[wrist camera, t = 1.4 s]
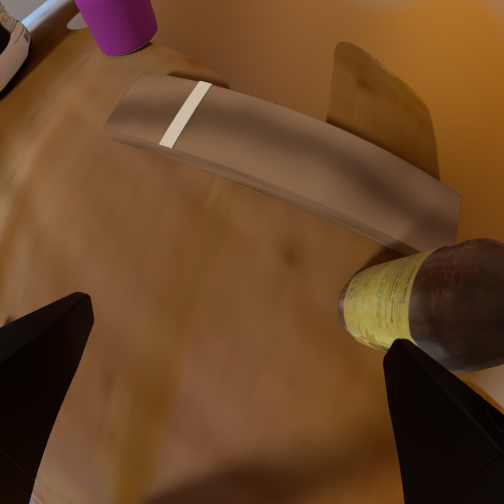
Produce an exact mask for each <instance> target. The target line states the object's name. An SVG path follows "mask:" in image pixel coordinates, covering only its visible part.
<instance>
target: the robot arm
mask: <svg viewBox="0 0 504 504" xmlns="http://www.w3.org/2000/svg"><path fill="white" fill-rule="evenodd" d="M93 323H94V314H93V309H92V303H91V298H90V296H89V295H88V294H86V293H82V292H75V293H72V294H70V295H68V296H66V297H64V298H61V299H59V300H57V301H55V302H53V303H51V304H49V305H46V306H44V307H42V308H40V309H38V310H36V311H34V312H32V313H30V314H27V315H25V316H23V317H21V318H19V319H17V320H15V321H13V322H11V323H9V324H7V325H5V326H3V327H1V328H0V504H29V502H30V498H31V494H32V490H33V487H34V483H35V479H36V476H37V472H38V469H39V466H40V463H41V459H42V456H43V453H44V450H45V447H46V445H47V442H48V439H49V436H50V433H51V431H52V428H53V425H54V423H55V420H56V418H57V415H58V413H59V410H60V408H61V405H62V403H63V400H64V398H65V396H66V393H67V391H68V389H69V386H70V384H71V382H72V379H73V377H74V375H75V373H76V370H77V368H78V366H79V363H80V360H81V357H82V354H83V351H84V349H85V346H86V343H87V340H88V337H89V335H90V332H91V329H92V327H93ZM383 368H384V375H385V383H386V390H387V399H388V406H389V411H390V416H391V421H392V425H393V430H394V436H395V441H396V447H397V452H398V458H399V465H400V471H401V478H402V486H403V494H404V502H405V504H504V414H502V413H501V412H500V411H499V410H497V409H496V408H495V407H493V406H492V405H491V404H490V403H489V402H487V401H486V400H484V399H483V398H482V397H481V396H480V395H479V394H477V393H476V392H475V391H474V390H472V389H471V388H470V387H469V386H467V385H466V384H465V383H464V382H462V381H461V380H460V379H459V378H457V377H456V376H455V375H454V374H452V373H451V372H450V371H449V370H447V369H446V368H445V367H443V366H442V365H441V364H440V363H438V362H437V361H436V360H435V359H433V358H432V357H431V356H429V355H428V354H427V353H426V352H424V351H423V350H422V349H420V348H419V347H418V346H416V345H415V344H414V343H413V342H411V341H410V340H409V339H406V338H397V339H395V340H394V341H393V343H392V345H391V346H390V348H389V350H388V351H387V353H386V355H385V357H384V359H383Z"/></svg>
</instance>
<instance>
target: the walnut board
mask: <svg viewBox="0 0 504 504" xmlns="http://www.w3.org/2000/svg"><path fill="white" fill-rule="evenodd" d="M103 129H104V130H105V131H106V132H107V134H108V135H109V136H110V137H111V138H112V140H113V141H117V142H120V143H123V144H127V145H130V146H133V147H136V148H139V149H143V150H146V151H149V152H152V153H155V154H158V155H161V156H164V157H167V158H170V159H173V160H176V161H179V162H182V163H185V164H188V165H191V166H193V167H196V168H199V169H202V170H205V171H208V172H210V173H213V174H216V175H218V176H221V177H224V178H227V179H229V180H232V181H235V182H237V183H240V184H242V185H245V186H248V187H250V188H253V189H255V190H258V191H260V192H263V193H266V194H268V195H271V196H273V197H276V198H278V199H280V200H283V201H285V202H288V203H290V204H293V205H295V206H297V207H300V208H302V209H304V210H307V211H309V212H312V213H314V214H316V215H319V216H321V217H323V218H325V219H328V220H330V221H332V222H334V223H337V224H339V225H341V226H343V227H346V228H348V229H350V230H352V231H354V232H357V233H359V234H361V235H363V236H365V237H367V238H370V239H372V240H374V241H376V242H378V243H380V244H382V245H384V246H386V247H388V248H390V249H393V250H395V251H397V252H399V253H401V254H403V255H405V256H407V257H408V256H411V255H415V254H418V253H422V252H425V251H429V250H432V249H436V248H439V247H443V246H454V244H455V239H456V233H457V226H458V219H459V213H460V205H461V195H460V194H458V193H457V192H455V191H454V190H452V189H451V188H449V187H448V186H446V185H445V184H443V183H441V182H440V181H438V180H437V179H435V178H433V177H432V176H430V175H428V174H427V173H425V172H423V171H422V170H420V169H418V168H417V167H415V166H413V165H411V164H410V163H408V162H406V161H404V160H402V159H401V158H399V157H397V156H395V155H393V154H391V153H389V152H388V151H386V150H384V149H382V148H380V147H378V146H376V145H374V144H372V143H370V142H368V141H366V140H363V139H361V138H359V137H357V136H355V135H353V134H351V133H348V132H346V131H344V130H342V129H339V128H337V127H335V126H333V125H330V124H328V123H325V122H323V121H320V120H318V119H315V118H313V117H311V116H308V115H305V114H303V113H300V112H297V111H295V110H292V109H289V108H286V107H284V106H281V105H278V104H275V103H272V102H269V101H266V100H263V99H259V98H256V97H253V96H250V95H247V94H243V93H240V92H236V91H232V90H229V89H225V88H222V87H218V86H214V85H212V84H211V83H207V82H202V81H199V82H197V81H192V80H188V79H183V78H178V77H173V76H168V75H162V74H156V73H150V72H144V71H143V72H142V73H141V74H140V76H139V77H138V78H137V79H136V81H135V82H134V83H133V85H132V86H131V87H130V89H129V90H128V91H127V93H126V94H125V95H124V97H123V98H122V100H121V101H120V102H119V104H118V105H117V107H116V108H115V110H114V111H113V113H112V114H111V115H110V117H109V118H108V120H107V122H106V123H105V125H104V126H103Z"/></svg>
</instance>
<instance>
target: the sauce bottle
mask: <svg viewBox="0 0 504 504" xmlns="http://www.w3.org/2000/svg"><path fill="white" fill-rule="evenodd" d="M338 309H339V317H340V320H341V323H342V325H343V327H344V328H345V330H346V331H347V332H348V333H349V334H350V335H351V336H352V337H353V338H354V339H356V340H357V341H358V342H360V343H362V344H364V345H366V346H369V347H372V348H375V349H378V350H381V351H384V352H387V351H388V350H389V348H390V346H391V345H392V343H393V341H394V340H395V339H397V338H406V339H409V340H410V341H411V342H413V343H414V344H415V345H416V346H418V347H419V348H420V349H422V350H423V351H424V352H426V353H427V354H428V355H429V356H431V357H432V358H433V359H435V360H436V361H437V362H438V363H440V364H441V365H442V366H443V367H445V368H446V369H447V370H449V371H450V372H453V373H460V374H461V373H462V374H464V373H470V372H474V371H479V370H483V369H487V368H491V367H495V366H498V365H502V364H504V244H503V243H501V242H499V241H496V240H492V239H485V238H478V239H474V240H467V241H465V242H462V243H460V244H458V245H454V246H443V247H439V248H436V249H432V250H429V251H425V252H422V253H418V254H415V255H411V256H408V257H404V258H400V259H397V260H393V261H389V262H386V263H382V264H378V265H375V266H371V267H369V268H366V269H364V270H362V271H360V272H359V273H357V274H356V275H354V276H353V277H352V278H351V279H350V280H349V281H348V283H347V284H346V285H345V287H344V288H343V290H342V292H341V296H340V299H339V308H338Z"/></svg>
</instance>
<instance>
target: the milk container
mask: <svg viewBox="0 0 504 504" xmlns="http://www.w3.org/2000/svg"><path fill="white" fill-rule="evenodd" d="M31 48H32V39H31V36H30V34H29V32H28V30H27V28H26V27H25V26H24V25H23V24H22V23H21V22H19V21H17V20H16V19H14V18H13V17H11V16H10V15H9V14H8V12H7V11H6V10H5V8H4V6H3V5H2V3H1V2H0V94H1V93H2V92H3V91H4V90H5V89H6V88H7V87H8V86H9V84H10V83H11V82H12V80H13V79H14V78H15V77H16V75H17V74H18V73H19V71H20V70H21V68H22V67H23V65H24V64H25V62H26V60H27V58H28V55H29V53H30V51H31Z"/></svg>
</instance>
